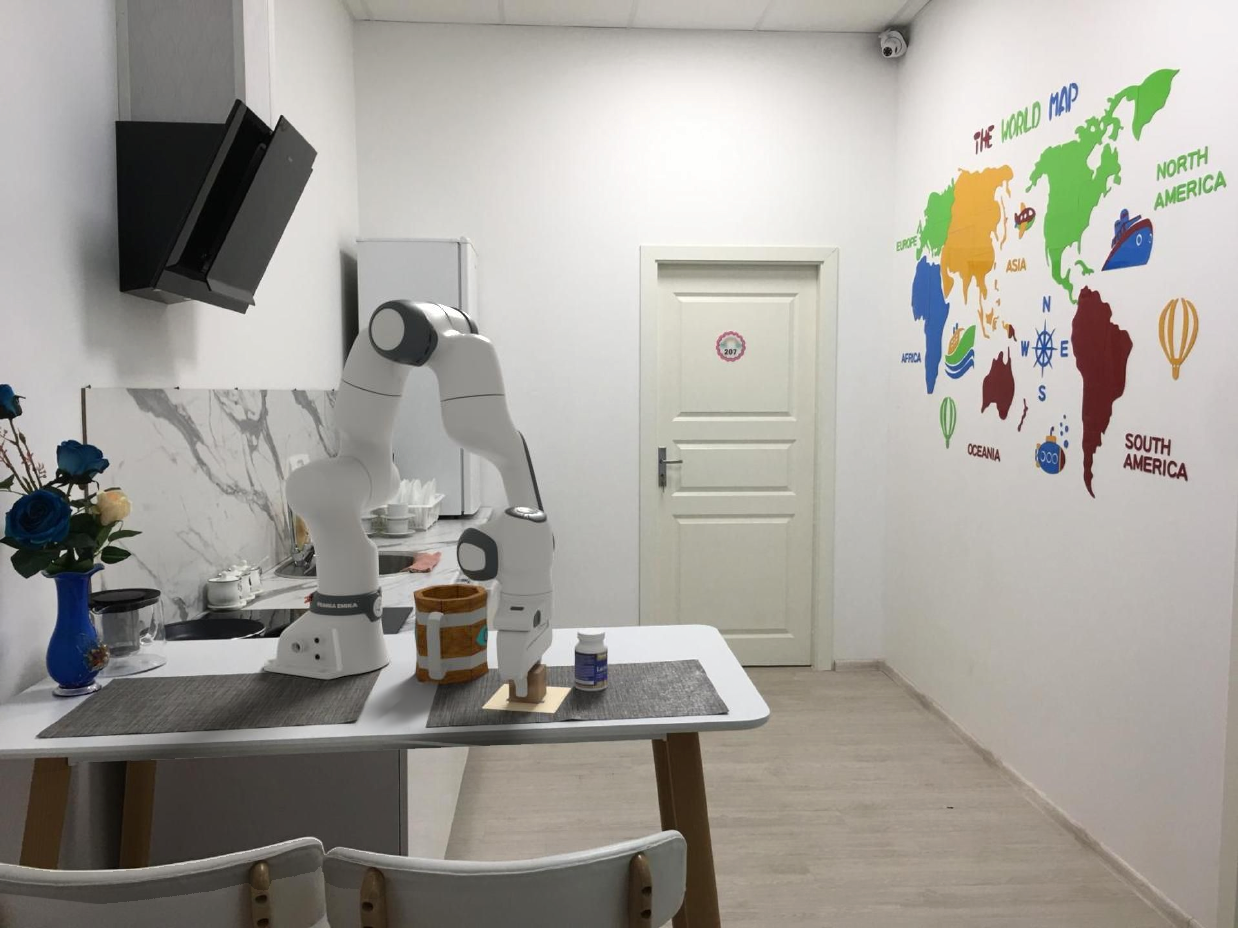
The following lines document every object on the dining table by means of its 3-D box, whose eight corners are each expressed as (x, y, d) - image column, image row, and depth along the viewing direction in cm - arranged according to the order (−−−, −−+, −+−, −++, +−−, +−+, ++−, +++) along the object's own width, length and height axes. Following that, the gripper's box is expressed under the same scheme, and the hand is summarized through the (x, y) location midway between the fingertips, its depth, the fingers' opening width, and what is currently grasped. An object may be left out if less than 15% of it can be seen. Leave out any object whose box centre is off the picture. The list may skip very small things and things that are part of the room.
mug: (425, 661, 171) (423, 583, 169) (496, 662, 170) (495, 584, 169) (393, 697, 151) (391, 609, 150) (473, 698, 150) (472, 610, 149)
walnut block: (509, 701, 148) (508, 671, 147) (517, 691, 153) (517, 662, 152) (538, 703, 147) (538, 673, 146) (546, 693, 152) (546, 664, 151)
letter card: (481, 710, 145) (481, 708, 145) (504, 685, 157) (504, 683, 157) (554, 715, 143) (554, 712, 143) (571, 689, 155) (571, 687, 155)
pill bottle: (603, 694, 153) (603, 636, 152) (570, 691, 154) (570, 634, 153) (610, 682, 158) (610, 627, 157) (579, 680, 159) (578, 625, 159)
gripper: (526, 591, 159) (526, 668, 160) (489, 621, 139) (490, 708, 140) (560, 592, 158) (561, 670, 159) (528, 623, 138) (529, 711, 139)
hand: (527, 688), depth 150 cm, fingers closed on walnut block, 5 cm apart
